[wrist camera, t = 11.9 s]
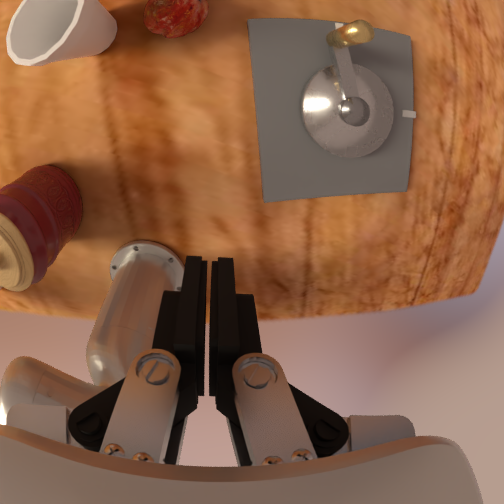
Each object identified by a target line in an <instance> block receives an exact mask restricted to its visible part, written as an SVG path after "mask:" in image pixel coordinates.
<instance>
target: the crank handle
mask: <svg viewBox="0 0 504 504" xmlns="http://www.w3.org/2000/svg"><path fill="white" fill-rule="evenodd" d="M374 35H375V32H374V29H373V27H372V26H371V25H370V24H369V23H368V22H366V21H364V20H356V21H354V22H351V23H349V24H347V25H344V26H342V27H340V28H337V29H335V30H333V31H331V32H329V33H328V34H327V35H326V42H327V46H328V49H329V53H330V57H331V61H332V65H329V66H326V67H324V68H322V69H320V70H318V71H317V72H315V73H314V74H313V75H312V76H311V77H310V78H309V79H308V81H307V82H306V84H305V85H304V87H303V90H302V92H301V96H300V102H299V111H300V117H301V121H302V124H303V126H304V128H305V130H306V132H307V133H308V135H309V136H310V137H311V139H312V140H313V141H314V142H315V143H317V144H318V145H319V146H321V147H322V148H324V149H325V150H327V151H328V152H330V153H332V154H334V155H337V156H340V157H346V158H356V157H361V156H365V155H367V154H370V153H371V152H373V151H375V150H376V149H377V148H378V147H380V145H381V144H382V143H383V142H384V141H385V140H386V138H387V136H388V134H389V132H390V130H391V127H392V123H393V117H394V110H393V102H392V98H391V95H390V93H389V91H388V89H387V87H386V85H385V84H384V83H383V81H382V80H381V79H380V78H379V77H378V76H377V75H376V74H375V73H373V72H372V71H371V70H369V69H367V68H365V67H363V66H360V65H357V64H352V61H351V57H350V53H349V49H348V47H349V46H353V45H357V44H361V43H366V42H370V41H372V40H373V38H374Z"/></svg>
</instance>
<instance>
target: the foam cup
mask: <svg viewBox="0 0 504 504" xmlns="http://www.w3.org/2000/svg"><path fill="white" fill-rule="evenodd" d="M116 33H117V23H116V20H115V19H114V18H113V17H112V15H111V14H110V13H109V12H108V11H107V10H106V9H105V8H104V7H103V6H102V4H101V3H100V2H99V1H98V0H23V1H22V3H21V4H20V6H19V7H18V9H17V11H16V12H15V14H14V16H13V17H12V19H11V22H10V26H9V29H8V33H7V37H6V41H7V51H8V55H9V56H10V57H11V58H12V60H13V61H14V62H15V63H16V64H20V65H27V66H43V65H46V64H48V63H51V62H55V61H61V60H67V59H74V58H81V57H89V56H93V55H97V54H100V53H101V52H103V51H104V50H106V49H107V48H108V47H109V46H110V44H111V43H112V42H113V40H114V39H115V36H116Z"/></svg>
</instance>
